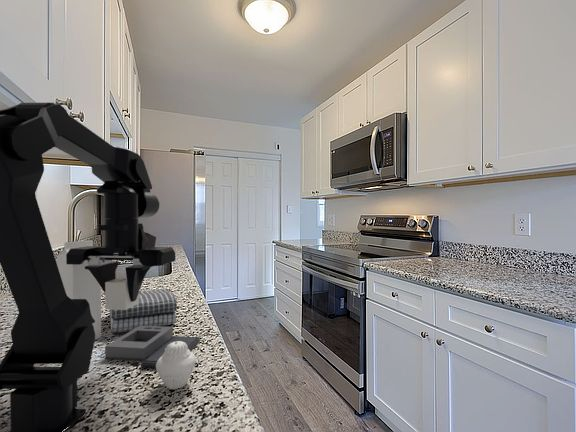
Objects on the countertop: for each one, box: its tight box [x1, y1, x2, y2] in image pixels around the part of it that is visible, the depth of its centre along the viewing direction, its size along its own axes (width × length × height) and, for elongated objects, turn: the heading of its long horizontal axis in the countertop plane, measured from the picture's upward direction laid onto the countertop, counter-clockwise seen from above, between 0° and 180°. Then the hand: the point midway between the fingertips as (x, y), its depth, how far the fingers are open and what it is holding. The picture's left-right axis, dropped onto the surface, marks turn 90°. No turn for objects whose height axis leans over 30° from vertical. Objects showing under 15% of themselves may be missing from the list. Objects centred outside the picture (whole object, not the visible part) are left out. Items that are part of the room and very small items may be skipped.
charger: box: [104, 277, 139, 310], centre depth 58 cm, size 4×4×5 cm
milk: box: [56, 239, 102, 340], centre depth 67 cm, size 6×6×22 cm
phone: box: [140, 335, 201, 370], centre depth 61 cm, size 12×6×1 cm, turn 173°
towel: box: [109, 288, 178, 334], centre depth 81 cm, size 15×18×8 cm
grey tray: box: [104, 326, 174, 362], centre depth 63 cm, size 11×8×2 cm
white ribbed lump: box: [155, 341, 197, 390], centre depth 50 cm, size 6×6×7 cm
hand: (122, 300), depth 58 cm, fingers closed on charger, 4 cm apart
